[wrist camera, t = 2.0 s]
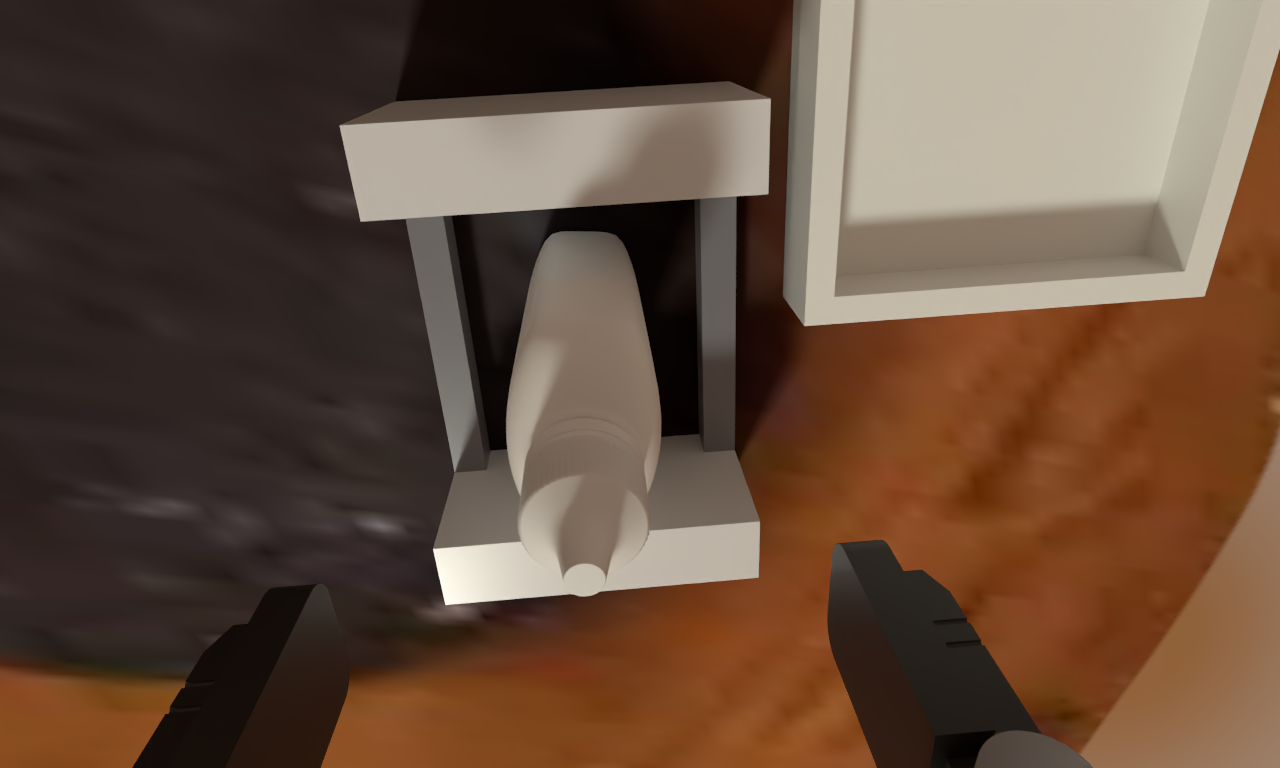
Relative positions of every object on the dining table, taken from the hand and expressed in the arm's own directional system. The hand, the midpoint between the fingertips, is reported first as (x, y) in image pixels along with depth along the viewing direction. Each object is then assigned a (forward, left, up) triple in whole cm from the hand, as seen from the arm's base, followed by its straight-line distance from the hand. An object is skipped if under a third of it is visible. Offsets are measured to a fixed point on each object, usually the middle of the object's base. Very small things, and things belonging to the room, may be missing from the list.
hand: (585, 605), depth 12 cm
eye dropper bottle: (0, 0, -13) cm, 13 cm away
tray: (-8, +12, -12) cm, 19 cm away
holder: (0, 0, -12) cm, 12 cm away
